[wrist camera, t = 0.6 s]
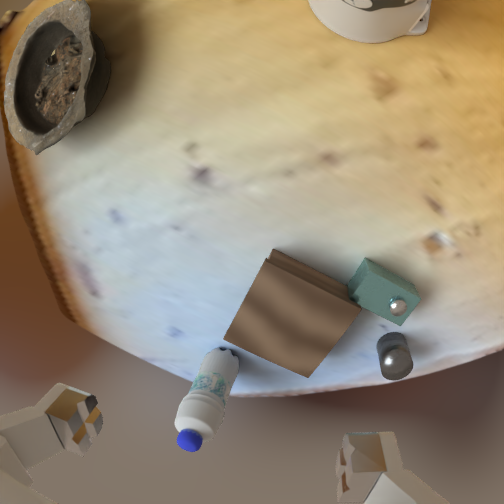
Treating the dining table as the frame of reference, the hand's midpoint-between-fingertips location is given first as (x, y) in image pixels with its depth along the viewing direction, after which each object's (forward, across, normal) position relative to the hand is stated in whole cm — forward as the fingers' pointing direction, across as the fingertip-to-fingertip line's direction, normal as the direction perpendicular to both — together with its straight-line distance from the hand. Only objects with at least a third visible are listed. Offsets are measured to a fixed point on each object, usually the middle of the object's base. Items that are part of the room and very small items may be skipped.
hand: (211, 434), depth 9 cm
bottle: (+40, +8, +26) cm, 48 cm away
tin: (+38, -20, +19) cm, 47 cm away
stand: (+38, -3, +13) cm, 40 cm away
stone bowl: (+37, +35, -23) cm, 56 cm away
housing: (+37, -16, +8) cm, 41 cm away
